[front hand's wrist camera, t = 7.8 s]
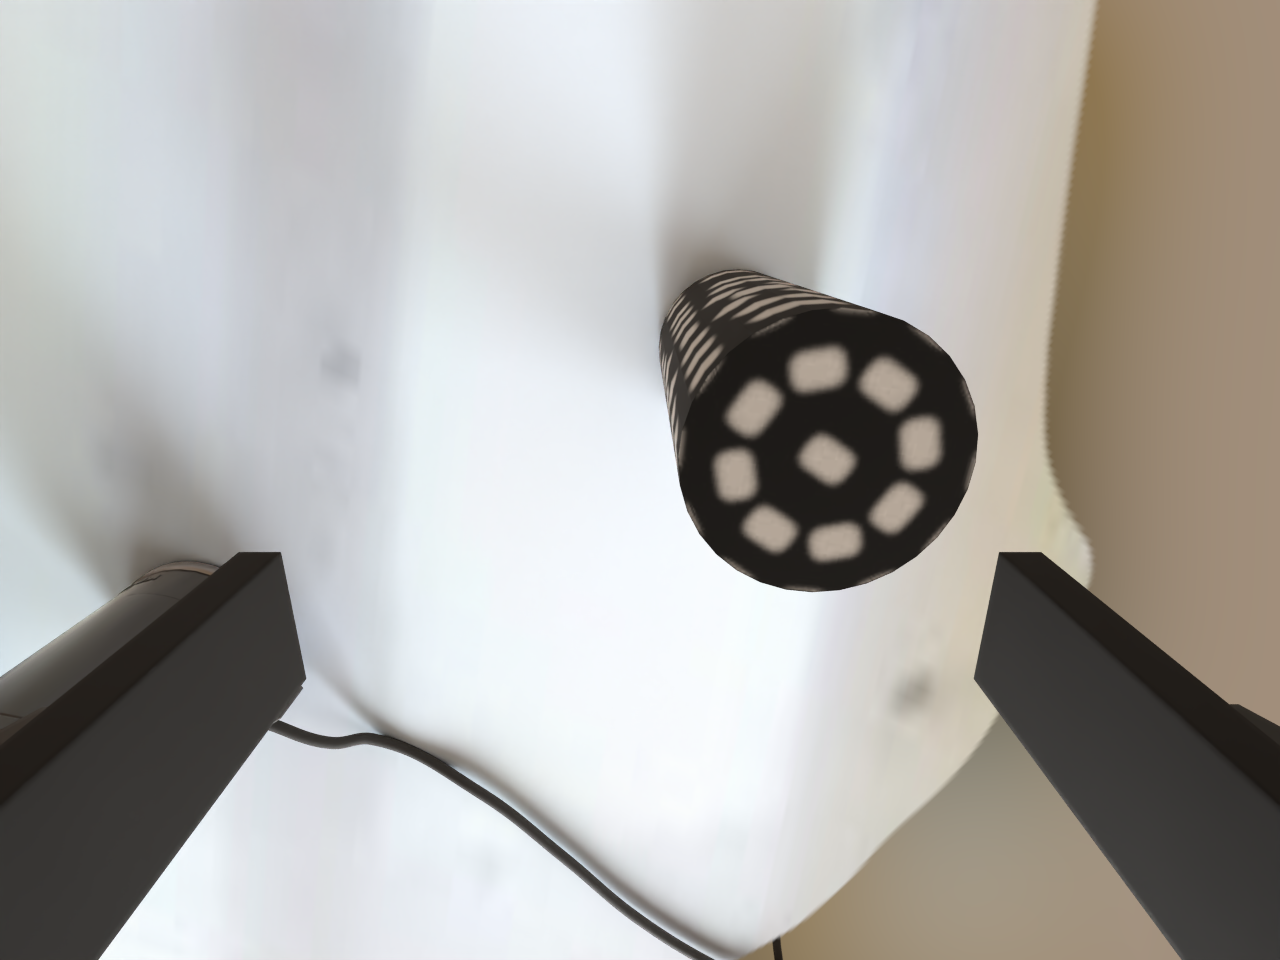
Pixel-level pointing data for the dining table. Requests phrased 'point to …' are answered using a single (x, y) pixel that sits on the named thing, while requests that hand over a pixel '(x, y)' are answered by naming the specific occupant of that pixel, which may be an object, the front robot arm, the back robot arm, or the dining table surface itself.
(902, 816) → the dining table surface
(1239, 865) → the front robot arm
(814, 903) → the dining table surface
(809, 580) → the black spotted cylinder
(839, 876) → the dining table surface
